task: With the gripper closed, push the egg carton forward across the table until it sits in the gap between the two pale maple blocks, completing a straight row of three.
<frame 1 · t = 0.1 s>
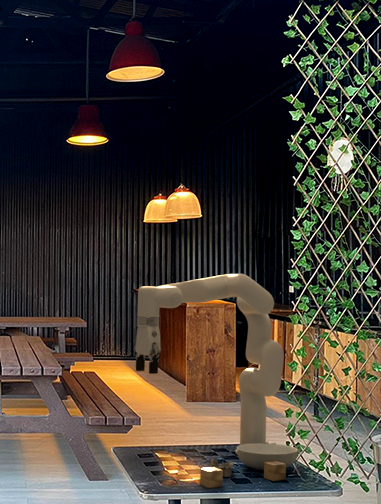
hand: (146, 372, 291), 31 cm above the table, tool pointing down, fingers open, 9 cm apart
serving bowl: (266, 469, 288), on the table
maple block 2: (274, 478, 272), on the table
egg carton: (221, 474, 277), on the table
maple block 1: (211, 485, 260), on the table
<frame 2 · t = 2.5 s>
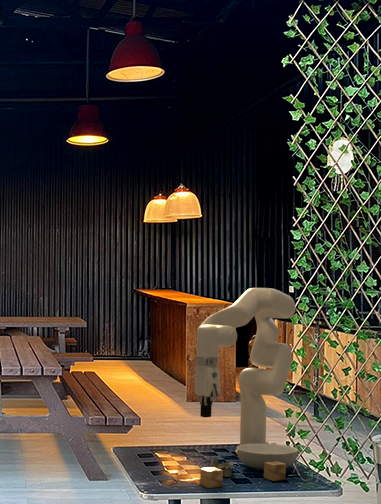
hand: (205, 416, 287), 17 cm above the table, tool pointing down, fingers closed
nothing on the table moved.
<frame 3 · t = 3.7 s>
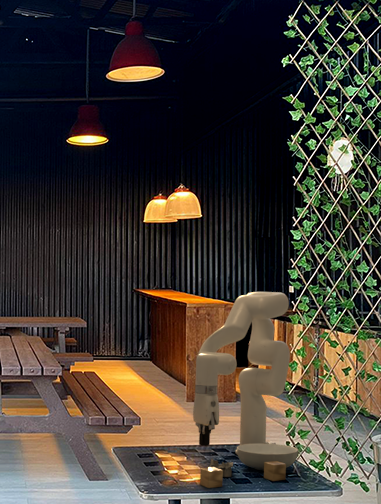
hand: (204, 445, 286), 8 cm above the table, tool pointing down, fingers closed
nothing on the table moved.
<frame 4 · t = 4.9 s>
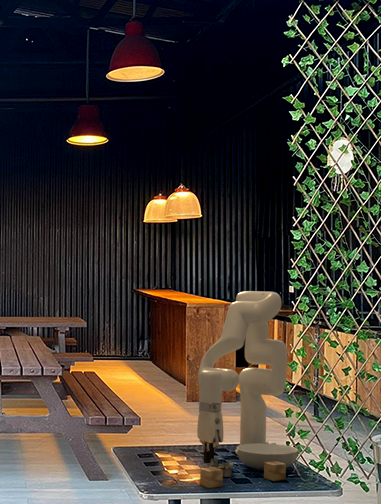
hand: (208, 462, 284), 2 cm above the table, tool pointing down, fingers closed
egg carton: (221, 474, 277), on the table, touching gripper
everything else where it was.
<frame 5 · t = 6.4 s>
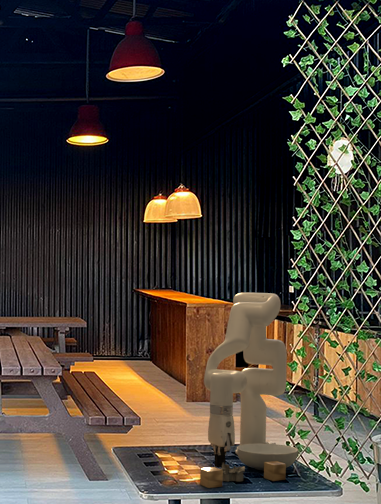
hand: (219, 466, 278), 2 cm above the table, tool pointing down, fingers closed
egg carton: (232, 479, 271), on the table, touching gripper
everything else where it was.
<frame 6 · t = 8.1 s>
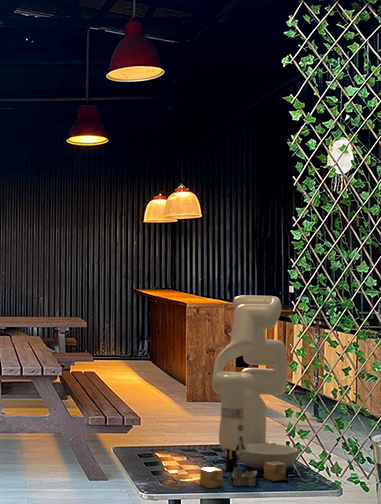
hand: (231, 471, 272), 2 cm above the table, tool pointing down, fingers closed
egg carton: (244, 483, 265), on the table, touching gripper
everything else where it was.
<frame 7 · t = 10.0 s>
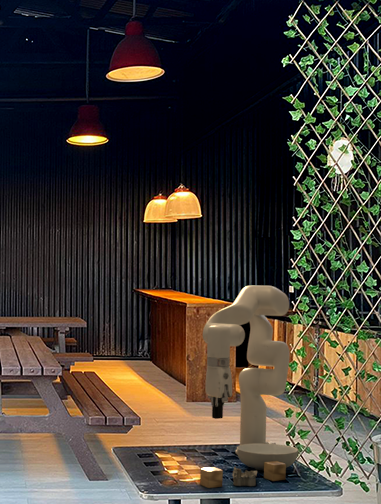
hand: (217, 418, 282), 18 cm above the table, tool pointing down, fingers closed
egg carton: (244, 483, 265), on the table
everything else where it was.
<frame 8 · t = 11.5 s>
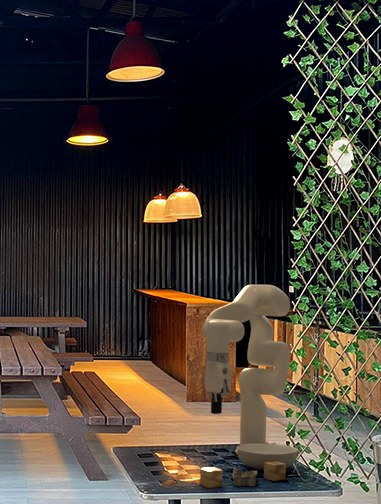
hand: (216, 413, 282), 19 cm above the table, tool pointing down, fingers closed
nothing on the table moved.
at the end: egg carton 0.8 cm from the target spot, on the table; maple block 2 moved 0.0 cm from its start; maple block 1 moved 0.0 cm from its start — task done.
